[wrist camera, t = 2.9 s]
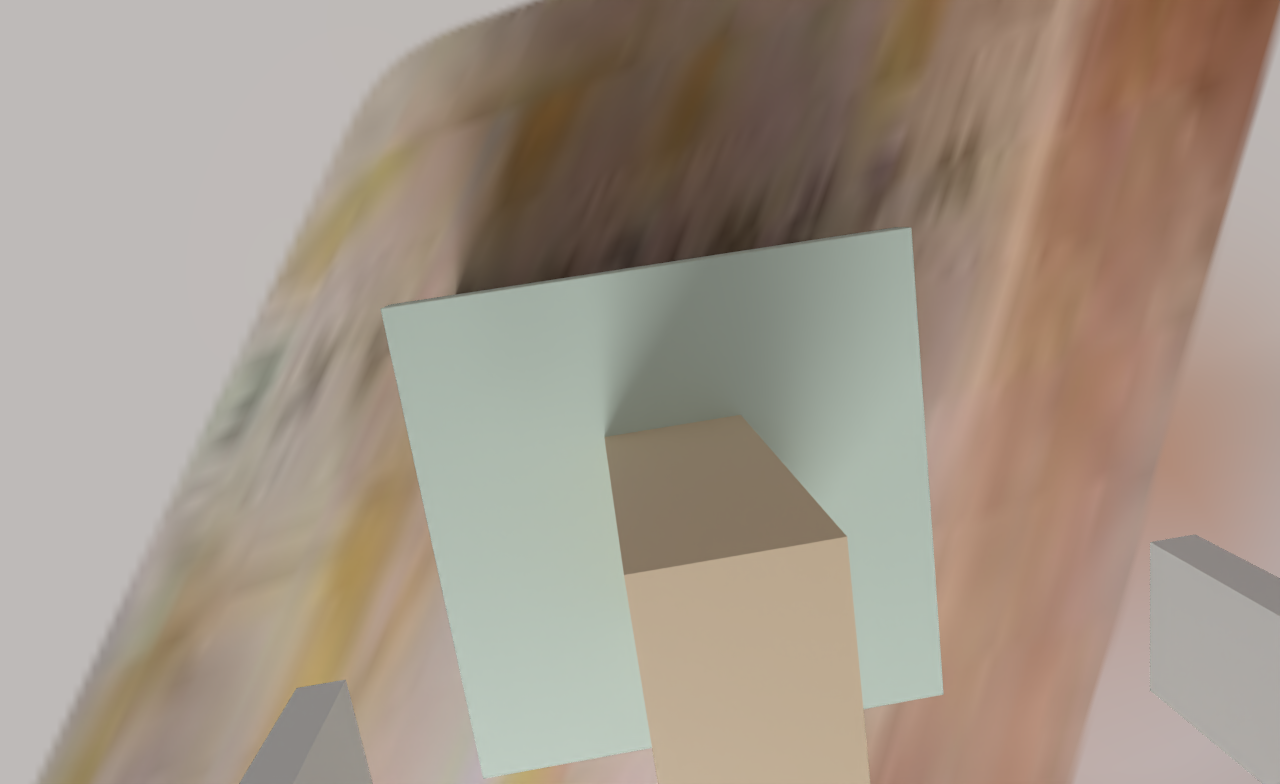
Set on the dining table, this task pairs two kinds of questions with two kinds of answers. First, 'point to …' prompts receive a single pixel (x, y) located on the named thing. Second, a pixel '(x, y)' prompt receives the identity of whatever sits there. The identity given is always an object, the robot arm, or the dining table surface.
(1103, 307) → the dining table surface
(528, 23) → the dining table surface
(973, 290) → the dining table surface
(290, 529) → the dining table surface
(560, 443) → the lid
